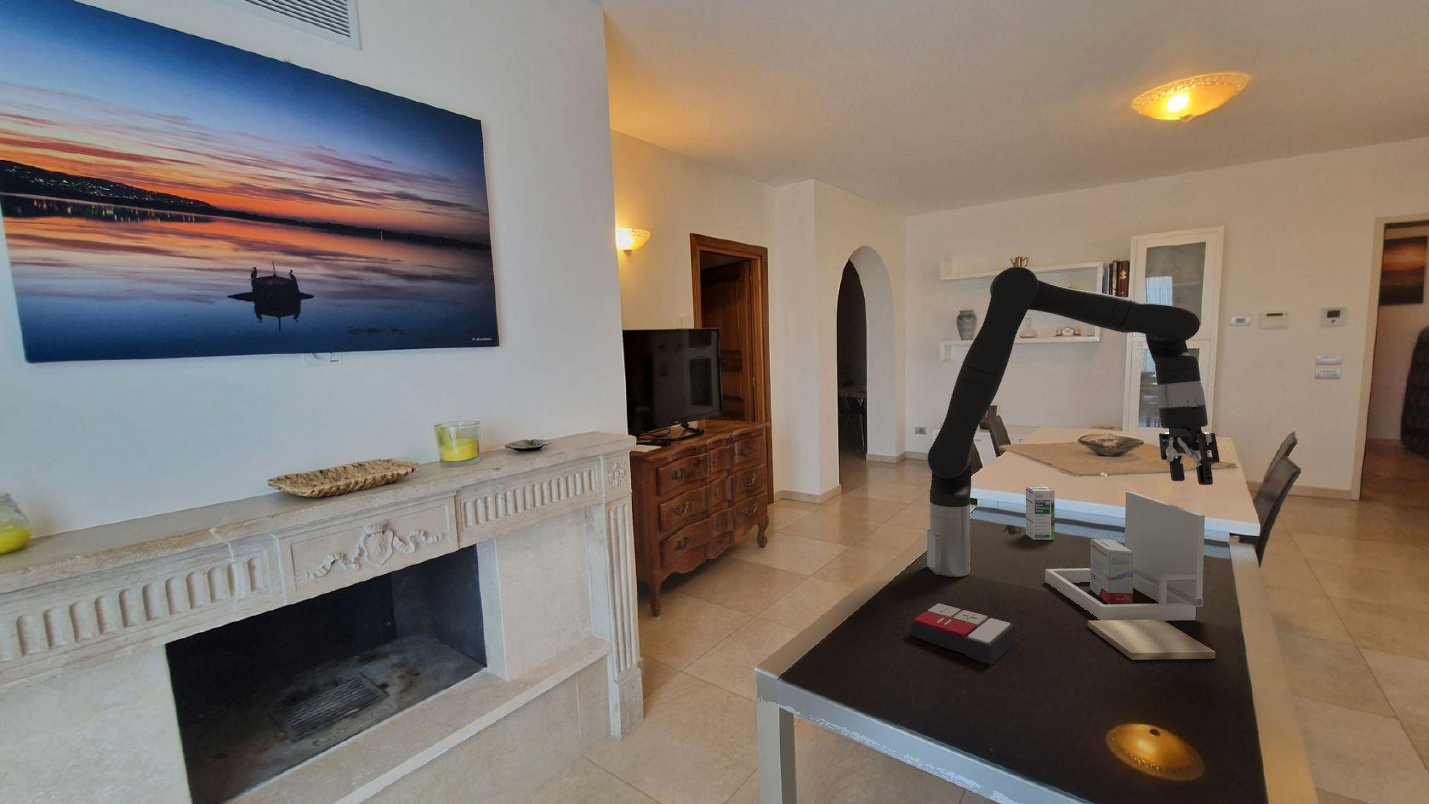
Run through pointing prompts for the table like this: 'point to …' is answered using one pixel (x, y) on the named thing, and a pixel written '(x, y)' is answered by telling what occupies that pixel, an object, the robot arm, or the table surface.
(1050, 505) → the syrup box
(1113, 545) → the ink box
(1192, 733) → the table surface
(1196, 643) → the oak board
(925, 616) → the grey red white block
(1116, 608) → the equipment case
